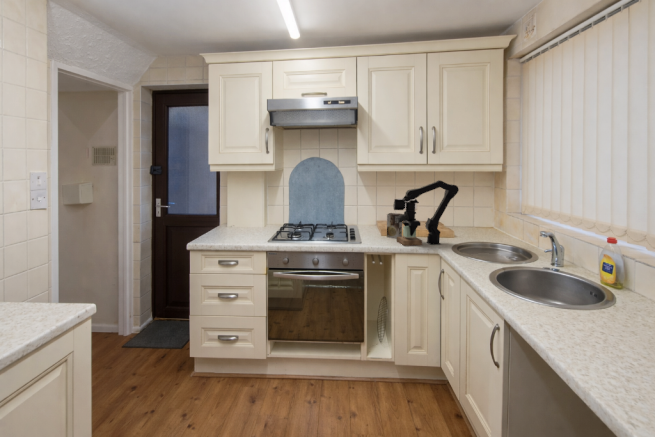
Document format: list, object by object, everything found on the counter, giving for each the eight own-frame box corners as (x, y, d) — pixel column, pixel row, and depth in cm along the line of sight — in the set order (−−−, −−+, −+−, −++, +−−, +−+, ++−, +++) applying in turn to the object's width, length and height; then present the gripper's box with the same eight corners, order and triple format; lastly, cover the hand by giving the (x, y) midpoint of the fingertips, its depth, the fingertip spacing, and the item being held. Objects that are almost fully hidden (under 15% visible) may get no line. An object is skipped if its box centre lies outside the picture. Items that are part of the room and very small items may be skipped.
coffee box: (402, 237, 243) (403, 213, 241) (398, 238, 238) (399, 214, 235) (389, 235, 248) (390, 212, 245) (386, 237, 243) (386, 213, 240)
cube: (412, 235, 228) (412, 225, 227) (415, 237, 222) (416, 227, 221) (403, 235, 227) (403, 226, 226) (406, 237, 221) (406, 227, 220)
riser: (414, 240, 232) (414, 236, 231) (421, 245, 220) (422, 240, 220) (396, 241, 230) (396, 236, 229) (403, 245, 218) (403, 241, 218)
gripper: (392, 208, 229) (392, 232, 232) (403, 212, 211) (402, 238, 214) (409, 208, 231) (408, 231, 234) (421, 212, 213) (420, 237, 215)
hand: (409, 234), depth 224 cm, fingers closed on cube, 6 cm apart
